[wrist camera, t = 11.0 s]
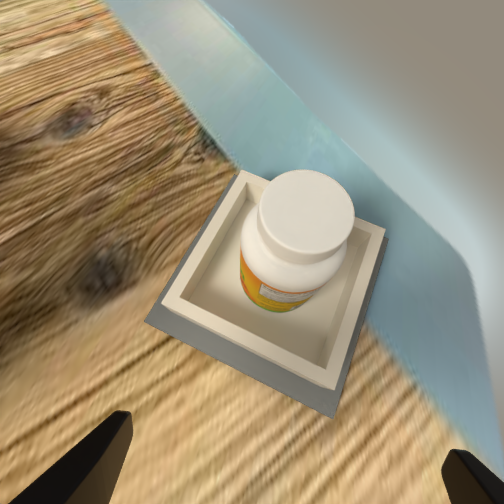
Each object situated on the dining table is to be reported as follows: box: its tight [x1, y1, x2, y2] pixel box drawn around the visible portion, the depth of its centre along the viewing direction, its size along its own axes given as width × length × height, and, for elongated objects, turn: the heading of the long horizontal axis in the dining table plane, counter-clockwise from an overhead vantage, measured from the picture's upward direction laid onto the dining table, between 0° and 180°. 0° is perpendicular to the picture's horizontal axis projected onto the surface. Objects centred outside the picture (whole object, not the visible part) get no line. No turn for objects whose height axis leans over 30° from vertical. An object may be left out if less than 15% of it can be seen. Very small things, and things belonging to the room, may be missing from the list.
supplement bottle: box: [240, 170, 355, 313], centre depth 16 cm, size 5×5×10 cm
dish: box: [161, 170, 386, 390], centre depth 20 cm, size 11×11×3 cm
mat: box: [144, 174, 388, 419], centre depth 21 cm, size 14×14×1 cm
